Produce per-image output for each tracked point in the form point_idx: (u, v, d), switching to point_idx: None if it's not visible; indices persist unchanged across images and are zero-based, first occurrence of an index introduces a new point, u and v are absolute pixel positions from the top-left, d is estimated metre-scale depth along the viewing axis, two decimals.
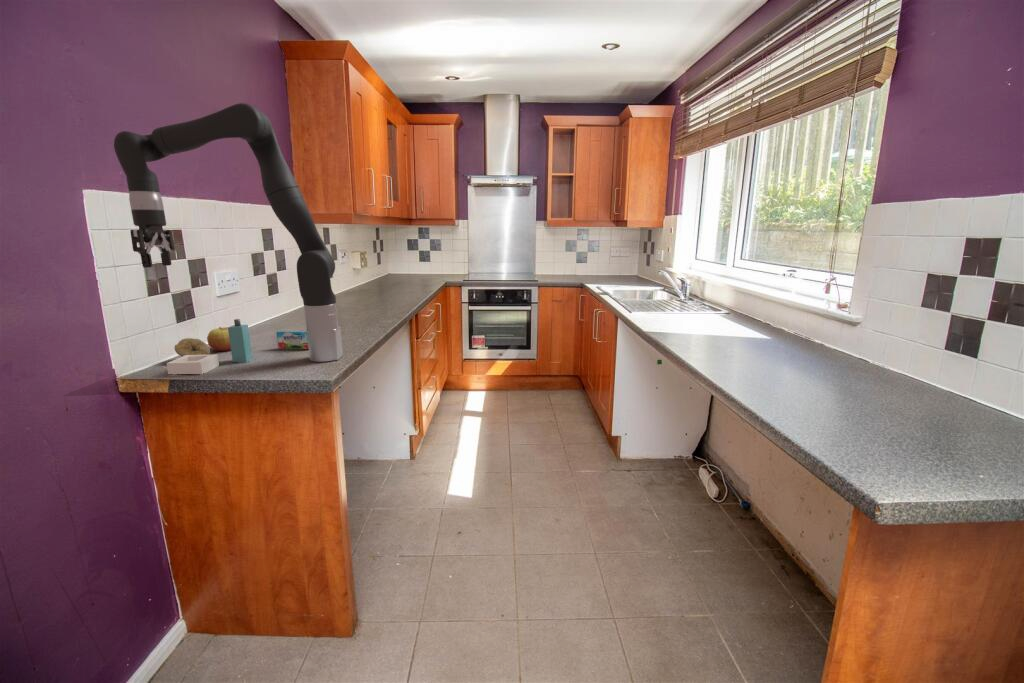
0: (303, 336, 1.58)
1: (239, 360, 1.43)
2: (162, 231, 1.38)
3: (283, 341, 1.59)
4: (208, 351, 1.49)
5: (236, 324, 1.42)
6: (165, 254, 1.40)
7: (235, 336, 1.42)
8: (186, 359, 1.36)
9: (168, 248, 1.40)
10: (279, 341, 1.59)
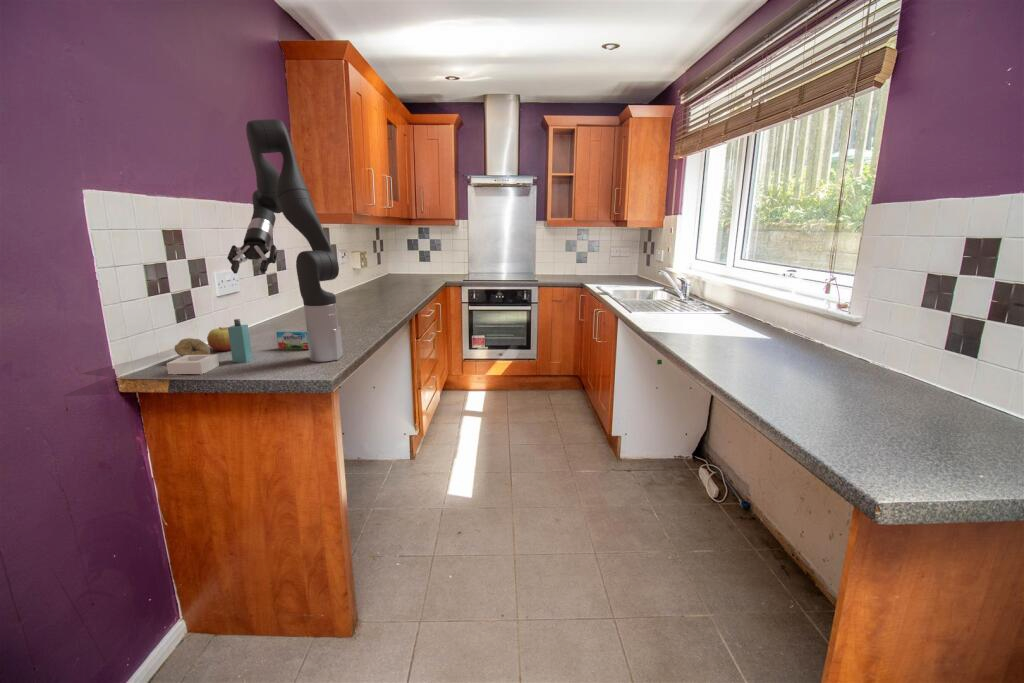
0: (303, 336, 1.58)
1: (239, 360, 1.43)
2: (263, 246, 1.55)
3: (283, 341, 1.59)
4: (208, 351, 1.49)
5: (236, 324, 1.42)
6: None
7: (235, 336, 1.42)
8: (186, 359, 1.36)
9: (263, 257, 1.52)
10: (279, 341, 1.59)
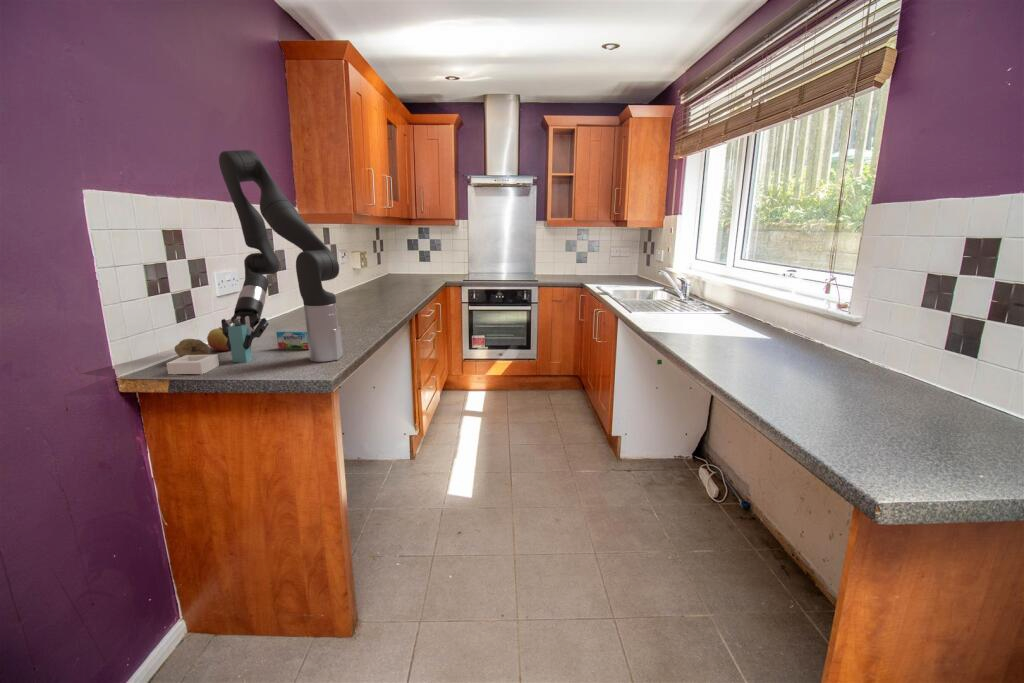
0: (303, 336, 1.58)
1: (239, 360, 1.43)
2: (255, 316, 1.47)
3: (283, 341, 1.59)
4: (208, 352, 1.48)
5: (236, 324, 1.42)
6: None
7: (235, 336, 1.42)
8: (186, 359, 1.36)
9: (247, 332, 1.44)
10: (279, 341, 1.59)
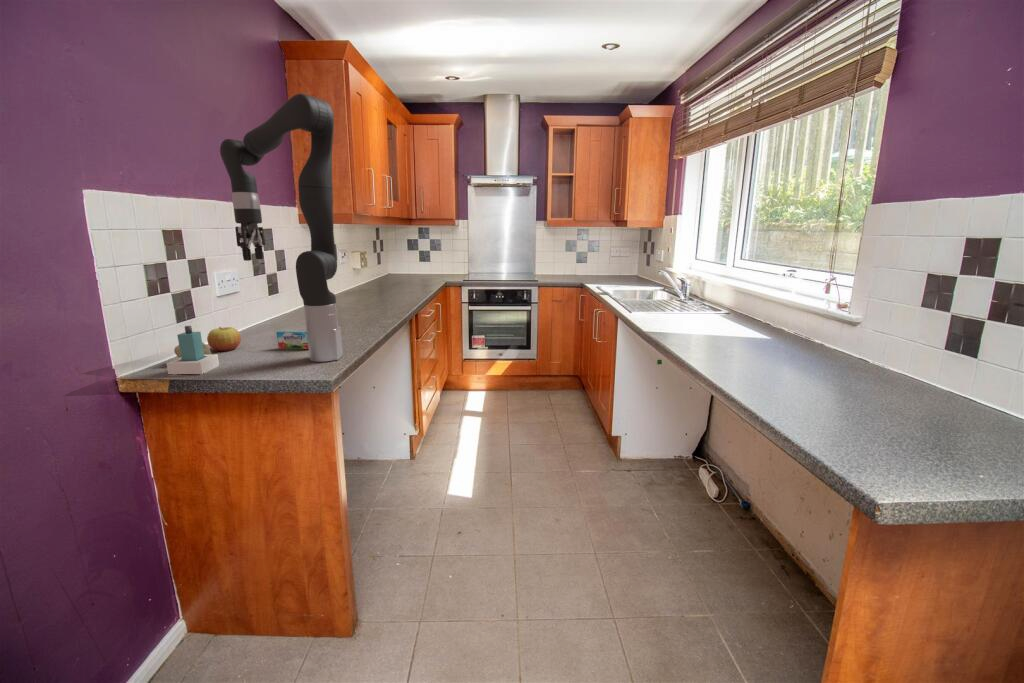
0: (303, 336, 1.58)
1: None
2: (257, 228, 1.53)
3: (283, 341, 1.59)
4: (209, 353, 1.46)
5: (187, 331, 1.32)
6: (258, 249, 1.55)
7: (186, 344, 1.32)
8: None
9: (261, 243, 1.55)
10: (279, 341, 1.59)
